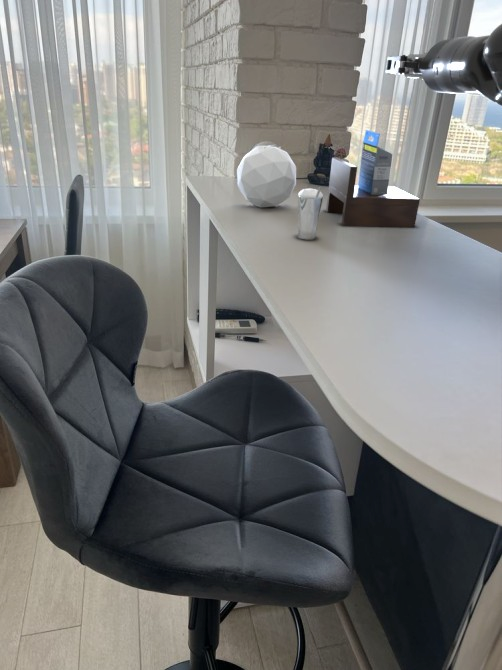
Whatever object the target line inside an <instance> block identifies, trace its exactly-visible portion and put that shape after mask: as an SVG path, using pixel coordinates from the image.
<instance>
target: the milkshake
mask: <svg viewBox="0 0 502 670" xmlns="http://www.w3.org/2000/svg"><path fill="white" fill-rule="evenodd" d="M321 190H322V187H321V186H320V187H319V186H318V189H315V188H312V187H311V188H310V187H309V188H302V189H301V190H300V191H298V194H297V195H298V227H297V238H299V239H301V240H306V241H307V240H309V241H311V240H315V238H316V236H317V235H316V234H317V229H318V223H319V217H320V213H321V208H322V204H323V199H324V194H323V192H321Z"/></svg>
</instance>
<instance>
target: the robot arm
mask: <svg viewBox="0 0 502 670" xmlns="http://www.w3.org/2000/svg"><path fill="white" fill-rule="evenodd" d="M384 73H385V74H387V75H395V76H399V75H404V77H405V78H410V79H412V78H413V79H419V80H421V81H422V80H423V81H424V83H425V85H426V87H428V89H430V90H431V91H433V92H436V93H438V94H439V93H440V94H467V93H478V94H480V95H482V96H483V97H485V99H488V100H490V101H491V102H493V103H495V104H497V105H499V106H501V107H502V23H500V24H499V25H498V26H496V27H495V29H493V31H492V32H490V34H488V35H482V36H474V35H473V36H472V35H470V36H460V37H454V38H448V39H447V38H446V39H443V40H440V41H438V42H436V43H435V44H434V45H433V46H432V47H431V48H429V50H428V51H427V52H424V53H423V54H422V53H421V54H420V53H419V54H417V53H416V54H415V53H410V54H408V55H406V54H402V55H395V56H393V55H389V56H387V60H386V67H385V71H384Z"/></svg>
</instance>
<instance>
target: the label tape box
mask: <svg viewBox="0 0 502 670" xmlns="http://www.w3.org/2000/svg"><path fill="white" fill-rule="evenodd" d="M380 135H381V133H379V132H374V131H371V130H368V129H365V133H364V137H363V141H362V150H361V156H360V157H361V158H360V166H359V176H358V184H357V186H358V188H360V189H362V190H364V191H366V192H368V193H370V194H371V195H387V193H388V187H389V185H390V184H389V183H390V176H391V169H392V162H393V153H391V152H389V151H387V150H385V149H384V148H382V147H380V146H378V145H379V140H380V137H381V136H380ZM369 138H372V140H370V139H369Z"/></svg>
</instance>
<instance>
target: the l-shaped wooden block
mask: <svg viewBox="0 0 502 670" xmlns="http://www.w3.org/2000/svg"><path fill="white" fill-rule="evenodd" d="M357 172H358V166H356V165H354V164H352V163H350V162H348V161H346V160H344V159H342V158H340V157H332V158H331V164H330V173H329V181H328V190H327V198H326V199H327V200H326V206H325V212H327V213H342V216H341V223H340V224H341V226H342V227H383V228H384V227H387V228H388V227H389V228H390V227H391V228H415V226H416V221H417V217H418V211H419V206H420V201H421V198H418V197H416V196H415V195H412V194H410V193H408V192H406V191H405V190H402V189H400V188H398V187H396V186H388V193H387V195H371V194H370V193H368V192H366V191H364V190H362V189H360V188H358V185H356V181H357V180H356V179H357Z"/></svg>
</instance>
